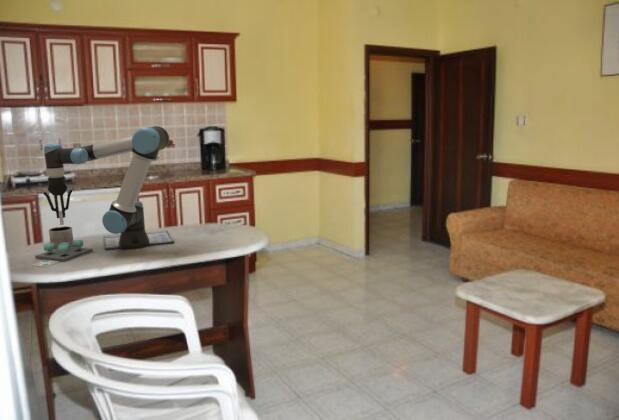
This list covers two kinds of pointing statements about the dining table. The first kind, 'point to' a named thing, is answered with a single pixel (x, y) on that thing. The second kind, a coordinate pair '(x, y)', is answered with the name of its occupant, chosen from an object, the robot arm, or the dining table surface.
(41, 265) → the card
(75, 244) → the button
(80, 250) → the board
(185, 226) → the dining table surface
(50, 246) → the button
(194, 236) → the dining table surface
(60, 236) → the planter
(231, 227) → the dining table surface
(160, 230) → the dining table surface
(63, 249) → the button
